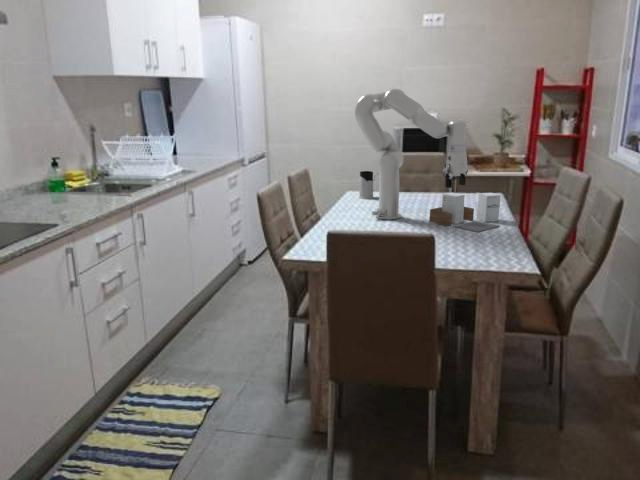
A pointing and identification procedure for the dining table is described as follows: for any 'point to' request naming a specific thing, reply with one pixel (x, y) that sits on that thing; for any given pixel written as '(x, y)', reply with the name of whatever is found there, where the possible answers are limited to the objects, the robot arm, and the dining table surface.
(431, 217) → the cubby
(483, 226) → the mat
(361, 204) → the dining table surface
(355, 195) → the dining table surface
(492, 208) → the supplement box
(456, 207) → the small box
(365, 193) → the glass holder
